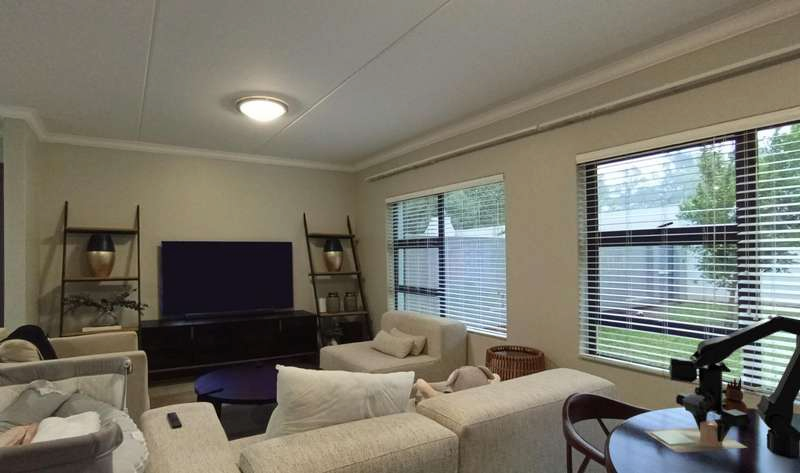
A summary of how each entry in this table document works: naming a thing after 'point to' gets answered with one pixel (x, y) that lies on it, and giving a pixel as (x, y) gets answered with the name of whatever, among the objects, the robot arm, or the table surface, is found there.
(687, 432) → the board
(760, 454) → the table surface
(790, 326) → the robot arm
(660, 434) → the pad
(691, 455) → the table surface
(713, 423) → the cap
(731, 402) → the wooden figurine
